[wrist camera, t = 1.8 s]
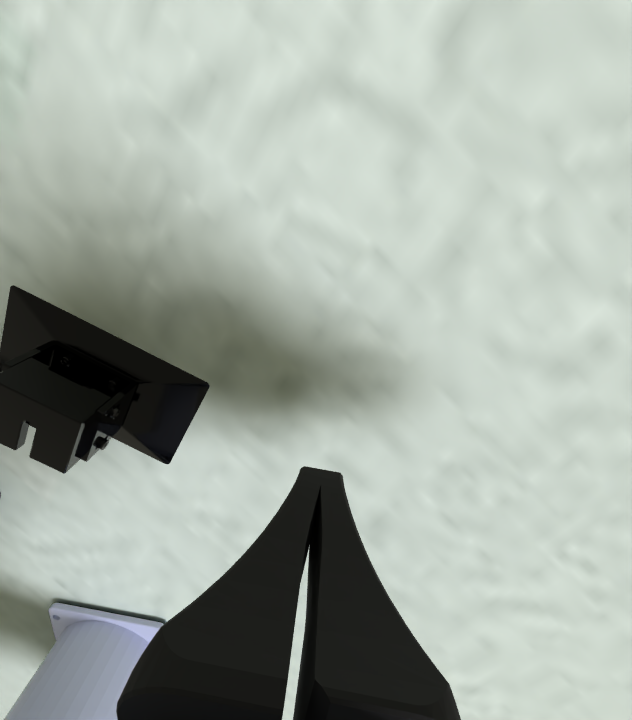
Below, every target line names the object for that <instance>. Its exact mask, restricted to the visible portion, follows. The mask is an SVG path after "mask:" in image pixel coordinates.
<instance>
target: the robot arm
mask: <svg viewBox="0 0 632 720" xmlns="http://www.w3.org/2000/svg"><path fill="white" fill-rule="evenodd" d="M309 544H310V546H309ZM308 549H309V566H308V587H307V608H306V622H305V633H304V641H303V648H302V656H301V664H300V672H299V679H298V687H297V694H296V702H295V709H294V717H293V720H461V719H460V715H459V712H458V709H457V705H456V702H455V699H454V696H453V693H452V690H451V688H450V685H449V683H448V682H447V681H446V679H445V678H444V677H443V675H442V674H441V673H440V672H439V670H438V669H437V668H436V666H435V665H434V664H433V662H432V661H431V660H430V658H429V657H428V656H427V654H426V653H425V652H424V650H423V649H422V647H421V646H420V644H419V643H418V642H417V640H416V639H415V637H414V636H413V634H412V633H411V631H410V630H409V628H408V627H407V625H406V624H405V622H404V620H403V619H402V617H401V616H400V614H399V612H398V611H397V609H396V607H395V606H394V604H393V603H392V601H391V599H390V598H389V596H388V594H387V592H386V591H385V589H384V587H383V585H382V583H381V581H380V580H379V578H378V576H377V574H376V572H375V570H374V568H373V566H372V564H371V561H370V559H369V557H368V555H367V553H366V550H365V548H364V546H363V543H362V541H361V538H360V536H359V533H358V531H357V528H356V525H355V522H354V519H353V516H352V513H351V510H350V507H349V504H348V500H347V496H346V492H345V488H344V483H343V476H342V475H341V473H339V472H333V471H328V470H322V469H316V468H311V467H305V466H304V467H302V468H301V469H300V472H299V475H298V477H297V480H296V482H295V484H294V486H293V488H292V489H291V491H290V493H289V495H288V496H287V498H286V499H285V501H284V503H283V504H282V506H281V507H280V509H279V510H278V512H277V513H276V515H275V516H274V517H273V519H272V520H271V522H270V523H269V524H268V526H267V527H266V528H265V530H264V531H263V532H262V533H261V535H260V536H259V537H258V538H257V540H256V541H255V542H254V543H253V544H252V545H251V547H250V548H249V549H248V550H247V551H246V552H245V553H244V554H243V555H242V557H241V558H240V559H239V560H238V561H237V562H236V563H235V564H234V565H233V566H232V567H231V568H230V569H229V570H228V571H227V572H226V573H225V574H224V575H223V576H222V577H221V578H220V579H218V580H217V581H216V582H215V583H214V584H213V585H212V586H211V587H210V588H208V589H207V590H206V591H205V592H204V593H203V594H202V595H201V596H199V597H198V598H197V599H196V600H195V601H193V602H192V603H191V604H190V605H188V606H187V607H186V608H185V609H183V610H182V611H181V612H179V613H178V614H177V615H176V616H174V617H173V618H172V619H170V620H169V621H168V622H166V623H165V624H163V623H161V622H156V621H150V620H145V619H140V618H135V617H130V616H125V615H119V614H114V613H109V612H104V611H99V610H93V609H88V608H83V607H78V606H73V605H67V604H62V603H53V604H52V605H51V607H50V608H49V615H50V619H51V623H52V627H53V631H54V635H55V639H56V643H55V644H54V646H53V647H52V649H51V650H50V652H49V653H48V655H47V656H46V657H45V659H44V660H43V662H42V663H41V665H40V666H39V668H38V669H37V671H36V672H35V674H34V675H33V677H32V678H31V680H30V681H29V683H28V684H27V686H26V687H25V689H24V690H23V692H22V693H21V695H20V696H19V698H18V699H17V701H16V702H15V704H14V705H13V707H12V708H11V710H10V711H9V713H8V714H7V716H6V717H5V719H4V720H282V715H283V708H284V701H285V694H286V687H287V680H288V672H289V664H290V656H291V649H292V641H293V633H294V625H295V618H296V610H297V603H298V595H299V588H300V582H301V578H302V574H303V570H304V566H305V561H306V557H307V553H308Z"/></svg>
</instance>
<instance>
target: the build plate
mask: <svg viewBox="0 0 632 720" xmlns="http://www.w3.org/2000/svg"><path fill="white" fill-rule="evenodd" d="M208 389H209V384H208V383H207V382H205V381H203V380H201V379H199V378H197V377H195V376H193V375H191V374H189V373H187V372H185V371H183V370H181V369H179V368H177V367H175V366H173V365H171V364H169V363H167V362H165V361H163V360H161V359H159V358H157V357H155V356H153V355H151V354H149V353H147V352H145V351H143V350H141V349H140V348H138V347H136V346H134V345H132V344H130V343H128V342H126V341H124V340H122V339H120V338H118V337H116V336H114V335H112V334H110V333H108V332H106V331H104V330H102V329H100V328H98V327H96V326H94V325H92V324H90V323H88V322H86V321H84V320H82V319H80V318H78V317H76V316H74V315H72V314H70V313H68V312H66V311H64V310H62V309H60V308H58V307H56V306H54V305H52V304H50V303H48V302H46V301H44V300H42V299H40V298H38V297H36V296H34V295H32V294H30V293H28V292H26V291H24V290H22V289H20V288H18V287H16V286H11V287H10V293H9V299H8V305H7V311H6V317H5V323H4V330H3V336H2V342H1V348H0V444H3V445H5V446H7V447H9V448H11V449H13V450H17V449H18V448H19V447H21V446H22V445H23V444H24V443H25V439H26V435H27V431H28V427H29V425H30V426H32V427H34V428H36V432H35V436H34V440H33V444H32V448H31V451H30V455H29V457H30V458H32V459H35V460H37V461H39V462H41V463H43V464H45V465H47V466H49V467H52V468H54V469H56V470H58V471H60V472H62V473H66V472H67V471H68V470H69V469H70V468H71V467H72V466H73V465H74V464H76V463H77V462H78V461H79V460H80V459H82V460H84V461H86V462H87V461H88V460H89V459H90V458H91V457H92V456H93V455H94V454H95V453H96V452H97V451H98V450H99V449H101V450H103V449H105V447H106V446H107V445H108V443H109V439H110V438H111V437H112V438H114V439H116V440H118V441H120V442H122V443H124V444H126V445H128V446H130V447H132V448H134V449H136V450H138V451H140V452H142V453H144V454H146V455H148V456H151V457H153V458H155V459H157V460H159V461H161V462H163V463H165V464H169V463H170V462H171V460H172V458H173V456H174V454H175V452H176V450H177V448H178V446H179V444H180V442H181V441H182V439H183V437H184V435H185V433H186V431H187V429H188V427H189V425H190V423H191V421H192V419H193V417H194V416H195V414H196V412H197V410H198V408H199V406H200V404H201V402H202V400H203V398H204V396H205V394H206V393H207V391H208Z"/></svg>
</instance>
